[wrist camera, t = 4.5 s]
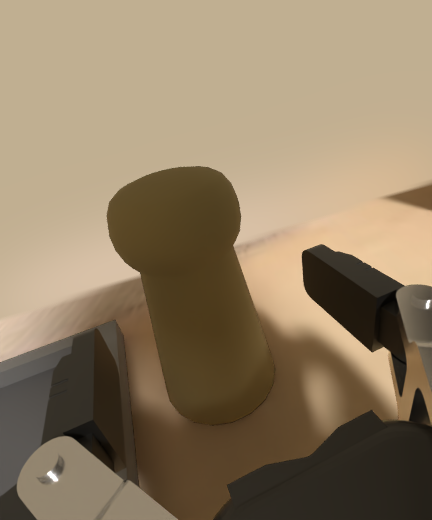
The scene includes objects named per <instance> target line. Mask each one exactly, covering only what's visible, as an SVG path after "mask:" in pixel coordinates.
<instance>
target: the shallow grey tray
mask: <svg viewBox="0 0 432 520" xmlns="http://www.w3.org/2000/svg"><path fill="white" fill-rule="evenodd" d="M95 328H97V329H98V330H99V331H100V333H101V335H102V337H103V339H104V340H105V342H106V344H107V346H108V348H109V350H110V351H111V353H112V355H113V357H114V359H115V361H116V364H117V367H118V371H119V378H120V391H121V404H122V417H123V429H124V442H125V455H126V468H125V469H123V470H120V471H118V472H116V473H115V474H117V475H118V476H119V477H120V478H122V479H123V480H126V479H128V480H130V481H131V482H132V483H134V484H135V485H136V486H138V487H139V483H138V473H137V463H136V454H135V444H134V434H133V425H132V415H131V405H130V395H129V386H128V376H127V366H126V357H125V347H124V337H123V334H122V332H121V330H120V328H119V326H118V324H117V322H116V320H113V321H110V322H108V323H105V324H102V325H100V326H97V327H94V328H92V329H95ZM92 329H89V330H86V331H83V332H81V333H78V334H75V335H73V336H70V337H67V338H65V339H62V340H59V341H57V342H54V343H51V344H48V345H46V346H43V347H40V348H38V349H35V350H32V351H30V352H27V353H24V354H21V355H19V356H16V357H13V358H11V359H8V360H5V361H3V362H0V496H2V495H3V494H4V493H6V492H7V491H8V490H10V489H11V488H12V487H13V486H14V485H15V484H17V481H18V478H19V475H20V472H21V470H22V468H23V466H24V465H25V463H26V462H27V460H28V459H29V458H30V456H31V455H32V454H33V453H34V452H35V451H36V450H37V449H38V448H39V447H40V446H41V441H42V435H43V429H44V423H45V417H46V411H47V405H48V400H49V399H50V398H49V394H50V388H52V387H51V382H52V376H53V371H54V369H55V368H56V366H57V364H58V363H59V361H60V359H61V358H62V357H63V356H66V355H69V354H71V351H72V342H73V337H74V336H76V335H79V334H82V333H84V332H87V331H90V330H92Z"/></svg>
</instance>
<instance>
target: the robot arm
mask: <svg viewBox="0 0 432 520" xmlns="http://www.w3.org/2000/svg"><path fill="white" fill-rule="evenodd" d="M302 267H303V282H304V287H305V290H306V292H307V294H308V295H309V296H310V297H311V298H312V299H313V300H314V301H315V302H316V303H317V304H318V305H319V306H321V307H322V308H323V309H324V310H325V311H326V312H327V313H328V314H330V315H331V316H332V317H333V318H334V319H335V320H336V321H337V322H338V323H340V324H341V325H342V326H343V327H344V328H345V329H346V330H347V331H349V332H350V333H351V334H352V335H353V336H354V337H355V338H356V339H358V340H359V341H360V342H361V343H362V344H363V345H364V346H365V347H367V348H368V349H369V350H370V351H371V352H374V351H376V350H378V349H380V348H382V347H385V348H386V349H388V350H389V353H388V359H389V365H390V370H391V375H392V380H393V385H394V390H395V396H396V401H397V407H398V420H382V421H381V420H380V419H379V418H378V416H377V415H376V414H375V413H374V412H373V411H372V410H370V411H368V412H367V413H365V414H363V415H361V416H359V417H357V418H355V419H353V420H351V421H349V422H347V423H345V424H343V425H341V426H340V427H338V428H337V429H336V430H335V431H334V432H333V433H332V434H331V435H330V436H329V437H328V438H327V439H326V440H325V441H324V443H323V444H322V445H321V446H320V447H319V448H318V449H317V450H316V451H315V452H314V453H313V454H311V455H310V456H308V457H305V458H299V459H294V460H289V461H284V462H279V463H273V464H268V465H265V466H263V467H261V468H259V469H257V470H255V471H253V472H251V473H249V474H247V475H245V476H243V477H241V478H239V479H238V480H236V481H234V482H232V483H230V484H228V485H227V487H228V490H229V493H230V496H231V499H230V500H229V501H228V502H227V503H226V504H225V505H224V506H223V507H222V508H221V509H220V511H219V512H218V513H217V514H216V516H215V518H214V519H213V520H432V287H431V286H427V285H408V286H404V285H402V284H401V283H399V282H397V281H395V280H394V279H392V278H390V277H389V276H387V275H385V274H383V273H382V272H380V271H378V270H377V269H375V268H372V267H371V266H370V265H368V264H366V263H363V262H362V261H361V260H359V259H358V258H356V257H354V256H352V255H350V254H346V253H342V252H335V251H333V250H331V249H330V248H328V247H326V246H325V245H322V244H320V245H318V246H315V247H312V248H310V249H307V250H305V251H303V253H302ZM51 387H52V388H50V394H49V398H50V399H49V400H48V405H47V411H46V417H45V423H44V429H43V435H42V441H41V446H40V447H39V448H38V449H37V450H36V451H35V452H34V453H33V454H32V455H31V456H30V458H29V459H28V460H27V462H26V463H25V465H24V466H23V468H22V470H21V472H20V475H19V478H18V481H17V484H15V485H14V486H13V487H12V488H11V489H10V490H8V491H7V492H6V493H4V494H3V495H2V496H0V520H178V519H177V518H176V517H174V516H173V515H172V514H171V513H169V512H168V511H167V510H166V509H165V508H163V507H162V506H161V505H160V504H158V503H157V502H156V501H155V500H154V499H152V498H151V497H150V496H149V495H147V494H146V493H145V492H144V491H143V490H141V489H140V488H139V487H138V486H136V485H135V484H134V483H132V482H131V481H130V480H128V479H126V480H123V479H122V478H120V477H119V476H118V475H117V474H115V473H116V472H118V471H120V470H123V469H125V468H126V455H125V442H124V429H123V417H122V404H121V391H120V378H119V371H118V367H117V364H116V361H115V359H114V357H113V355H112V353H111V351H110V350H109V348H108V346H107V344H106V342H105V340H104V339H103V337H102V335H101V333H100V331H99V330H98V329H97V328H95V329H92V330H90V331H87V332H84V333H82V334H79V335H76V336H74V337H73V342H72V351H71V354H69V355H66V356H63V357H62V358H61V359H60V361H59V363H58V364H57V366H56V368H55V369H54V371H53V376H52V382H51Z"/></svg>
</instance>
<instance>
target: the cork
mask: <svg viewBox="0 0 432 520" xmlns="http://www.w3.org/2000/svg"><path fill="white" fill-rule="evenodd" d="M107 222H108V229H109V236H110V239H111V241H112V243H113V246H114V248H115V250H116V252H117V253H118V254H119V255H120V257H121V258H122V259H123V260H124V262H125V263H127V264H128V265H129V266H131V267H132V268H133V269H135V270H137V271H138V272H140V274H141V278H142V283H143V287H144V292H145V296H146V300H147V305H148V309H149V313H150V318H151V322H152V327H153V331H154V335H155V340H156V344H157V348H158V353H159V357H160V362H161V366H162V370H163V375H164V379H165V383H166V388H167V392H168V395H169V399H170V402H171V403H172V405H173V406H174V407H175V408H176V410H177V411H178V412H179V414H181V415H183V416H184V417H186V418H188V419H190V420H191V421H193V422H196V423H202V424H209V425H218V424H224V423H230V422H234V421H236V420H238V419H240V418H242V417H244V416H246V415H248V414H250V413H252V412H253V411H254V410H255V409H256V408H257V407H258V406H259V405H260V404H261V403H262V402H263V401H264V400H265V399H266V397H267V395H268V393H269V391H270V389H271V388H272V386H273V381H274V374H275V367H274V363H273V359H272V355H271V352H270V350H269V347H268V344H267V341H266V338H265V335H264V332H263V330H262V327H261V324H260V321H259V318H258V315H257V313H256V310H255V307H254V304H253V301H252V298H251V295H250V293H249V290H248V287H247V284H246V281H245V278H244V275H243V273H242V270H241V267H240V264H239V261H238V258H237V255H236V253H235V250H234V247H233V244H234V243H235V241H236V238H237V236H238V234H239V231H240V222H241V213H240V207H239V202H238V198H237V195H236V193H235V191H234V189H233V186H232V184H231V183H230V181H229V180H228V179H227V178H226V177H225V176H224V175H223V174H222V173H221V172H218V171H216V170H214V169H211V168H209V167H201V166H196V167H178V168H172V169H167V170H162V171H158V172H155V173H152V174H149V175H146V176H144V177H142V178H140V179H138V180H136V181H134V182H131V183H129V184H127V185H126V186H124V187H123V188H121V189H120V190H119V191H118V192H117V193H116V194H115V196H114V197H113V198H112V199H111V201H110V202H109V207H108V211H107Z"/></svg>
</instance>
